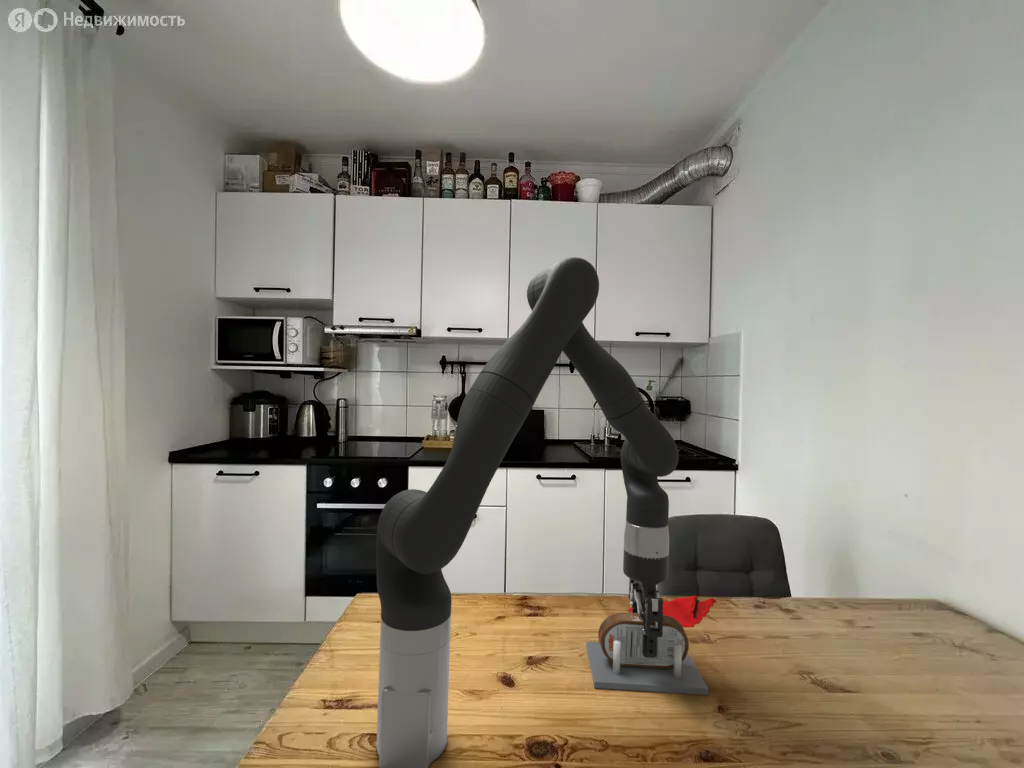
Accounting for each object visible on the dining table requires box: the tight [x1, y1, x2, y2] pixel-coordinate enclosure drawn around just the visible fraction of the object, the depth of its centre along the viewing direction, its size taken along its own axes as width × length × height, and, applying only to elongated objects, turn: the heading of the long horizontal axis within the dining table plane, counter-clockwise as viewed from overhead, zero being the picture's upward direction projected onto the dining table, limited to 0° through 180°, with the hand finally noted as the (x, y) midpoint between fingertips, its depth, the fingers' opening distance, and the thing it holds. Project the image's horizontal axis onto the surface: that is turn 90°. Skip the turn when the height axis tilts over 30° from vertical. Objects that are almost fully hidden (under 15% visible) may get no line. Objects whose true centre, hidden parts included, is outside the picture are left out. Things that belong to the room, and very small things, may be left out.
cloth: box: [628, 595, 717, 628], centre depth 103 cm, size 26×14×2 cm, turn 100°
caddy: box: [585, 640, 709, 696], centre depth 82 cm, size 12×18×6 cm, turn 87°
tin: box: [597, 611, 690, 669], centre depth 81 cm, size 15×3×8 cm, turn 87°
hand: (643, 642), depth 82 cm, fingers open, 8 cm apart
